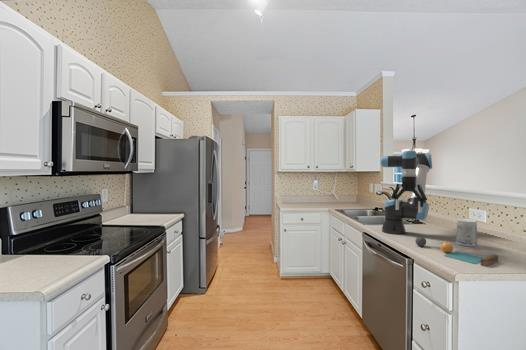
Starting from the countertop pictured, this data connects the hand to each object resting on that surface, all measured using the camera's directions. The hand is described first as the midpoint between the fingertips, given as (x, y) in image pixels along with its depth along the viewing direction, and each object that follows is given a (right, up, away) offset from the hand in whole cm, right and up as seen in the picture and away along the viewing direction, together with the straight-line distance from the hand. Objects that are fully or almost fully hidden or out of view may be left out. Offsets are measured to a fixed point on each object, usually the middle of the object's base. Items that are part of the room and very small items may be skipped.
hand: (408, 211), depth 164 cm
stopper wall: (+20, -21, -35) cm, 45 cm away
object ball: (+11, -17, -18) cm, 28 cm away
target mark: (+15, -20, -26) cm, 36 cm away
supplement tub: (+33, -20, -4) cm, 38 cm away
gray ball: (+4, -17, -6) cm, 18 cm away
